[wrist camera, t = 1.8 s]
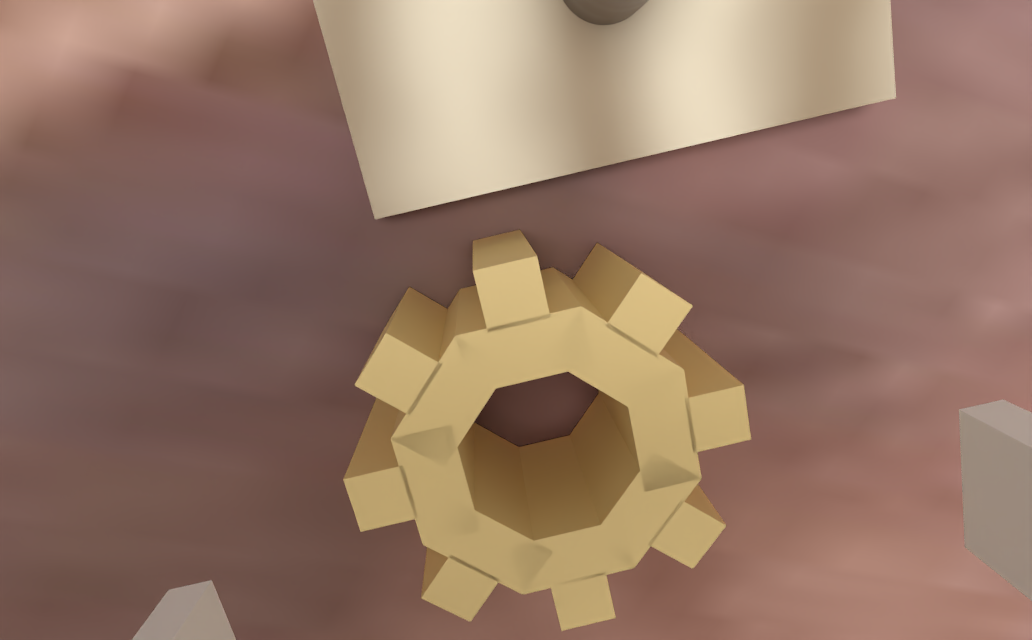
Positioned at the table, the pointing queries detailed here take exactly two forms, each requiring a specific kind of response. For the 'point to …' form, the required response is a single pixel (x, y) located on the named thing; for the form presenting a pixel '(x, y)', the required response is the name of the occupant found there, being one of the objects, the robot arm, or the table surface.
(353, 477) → the gear
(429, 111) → the board
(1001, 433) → the robot arm
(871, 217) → the table surface
